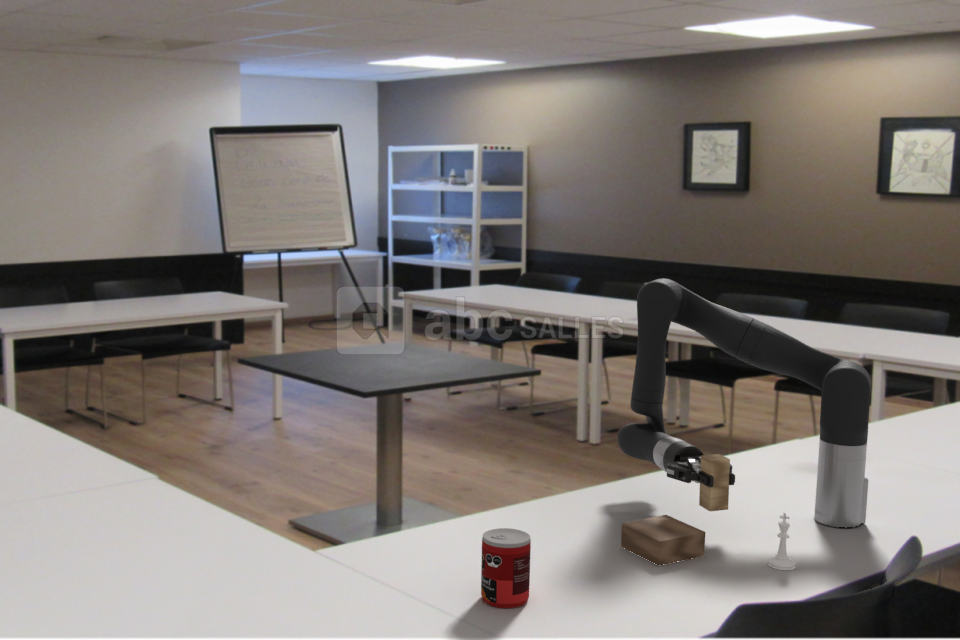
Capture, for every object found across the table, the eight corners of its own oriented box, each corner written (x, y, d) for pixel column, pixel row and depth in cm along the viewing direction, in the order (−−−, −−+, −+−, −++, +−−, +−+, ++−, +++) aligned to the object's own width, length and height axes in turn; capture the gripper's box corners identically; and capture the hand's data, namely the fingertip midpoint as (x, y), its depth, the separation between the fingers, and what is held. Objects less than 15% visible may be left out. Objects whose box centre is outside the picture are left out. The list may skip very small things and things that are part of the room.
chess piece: (797, 571, 179) (800, 518, 177) (768, 569, 180) (771, 515, 178) (794, 561, 184) (797, 509, 182) (766, 559, 185) (769, 507, 183)
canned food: (478, 590, 168) (480, 528, 166) (525, 589, 168) (527, 527, 167) (482, 609, 160) (484, 544, 159) (532, 609, 161) (533, 543, 159)
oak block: (717, 503, 195) (718, 453, 194) (728, 509, 192) (729, 459, 190) (699, 505, 194) (700, 455, 193) (709, 511, 190) (711, 460, 189)
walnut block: (664, 539, 195) (666, 514, 194) (704, 557, 186) (705, 532, 185) (620, 548, 189) (621, 523, 189) (658, 568, 180) (660, 541, 179)
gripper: (647, 443, 203) (690, 465, 187) (708, 437, 207) (755, 459, 191) (646, 478, 204) (689, 503, 188) (707, 472, 208) (754, 496, 192)
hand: (722, 481), depth 190 cm, fingers closed on oak block, 4 cm apart
